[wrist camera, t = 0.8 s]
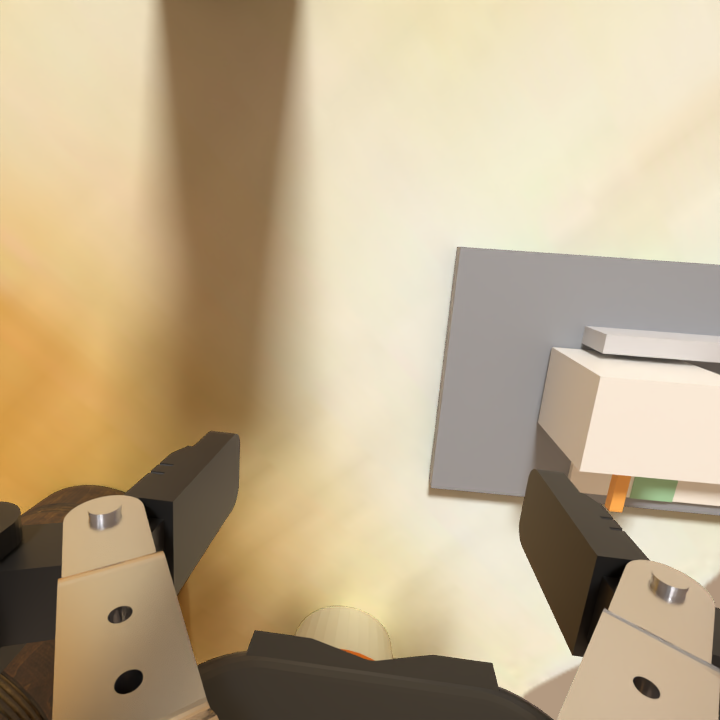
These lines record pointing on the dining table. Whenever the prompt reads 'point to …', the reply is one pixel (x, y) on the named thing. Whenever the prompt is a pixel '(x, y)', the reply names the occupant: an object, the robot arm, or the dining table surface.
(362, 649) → the reusable coffee cup
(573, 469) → the stand
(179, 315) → the dining table surface
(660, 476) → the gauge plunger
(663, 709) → the robot arm
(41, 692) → the wooden container
